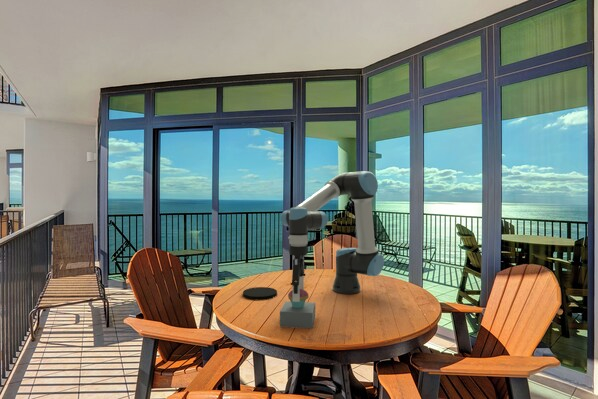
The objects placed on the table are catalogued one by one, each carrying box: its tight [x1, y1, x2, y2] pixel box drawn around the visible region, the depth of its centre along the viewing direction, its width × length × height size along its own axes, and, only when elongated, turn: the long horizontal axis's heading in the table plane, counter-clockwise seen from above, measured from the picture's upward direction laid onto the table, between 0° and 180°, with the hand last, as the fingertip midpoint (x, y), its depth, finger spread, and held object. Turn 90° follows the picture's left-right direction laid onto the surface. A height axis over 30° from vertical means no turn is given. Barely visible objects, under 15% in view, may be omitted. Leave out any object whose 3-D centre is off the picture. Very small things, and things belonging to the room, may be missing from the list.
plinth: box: [279, 300, 316, 329], centre depth 141 cm, size 13×13×6 cm
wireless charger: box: [242, 286, 278, 301], centre depth 179 cm, size 18×18×2 cm
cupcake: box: [288, 289, 310, 308], centre depth 141 cm, size 9×8×12 cm
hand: (298, 296), depth 141 cm, fingers open, 13 cm apart
